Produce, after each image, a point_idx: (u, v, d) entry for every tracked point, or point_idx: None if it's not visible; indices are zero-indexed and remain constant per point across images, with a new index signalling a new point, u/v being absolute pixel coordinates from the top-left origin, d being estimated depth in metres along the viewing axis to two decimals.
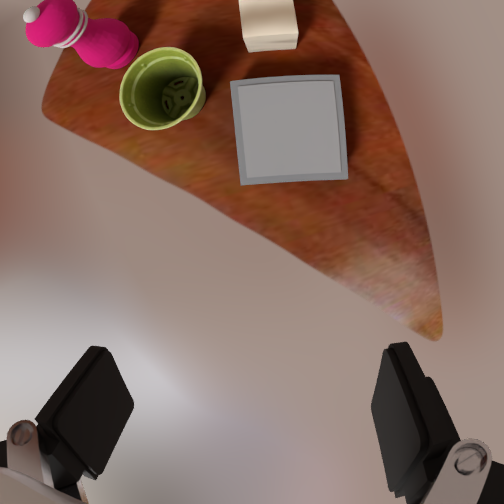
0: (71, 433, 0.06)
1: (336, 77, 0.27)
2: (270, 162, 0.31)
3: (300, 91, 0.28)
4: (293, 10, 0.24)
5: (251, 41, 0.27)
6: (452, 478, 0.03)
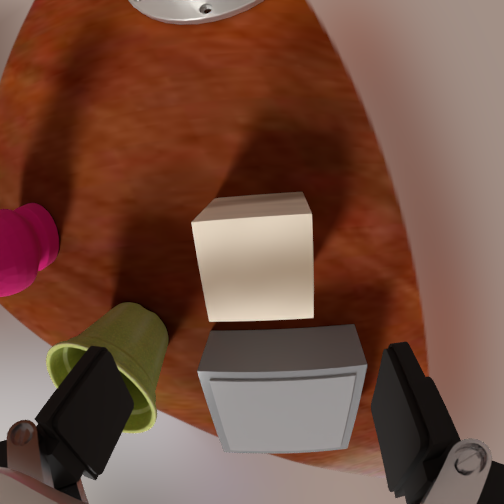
0: (71, 433, 0.06)
1: (361, 368, 0.19)
2: (257, 443, 0.23)
3: (303, 390, 0.20)
4: (310, 266, 0.15)
5: None
6: (452, 478, 0.03)
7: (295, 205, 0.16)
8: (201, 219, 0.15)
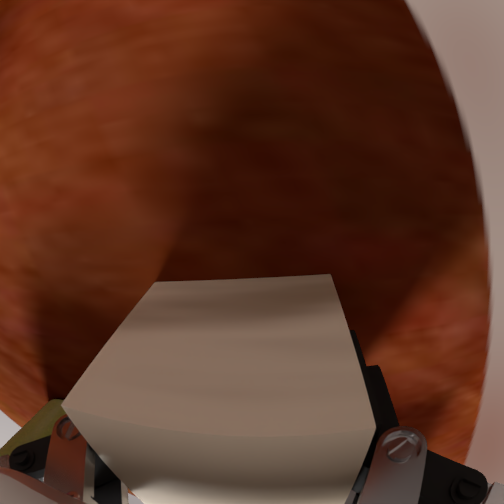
0: None
1: None
2: None
3: None
4: (345, 491, 0.05)
5: None
6: (386, 468, 0.04)
7: (324, 359, 0.06)
8: (84, 396, 0.05)
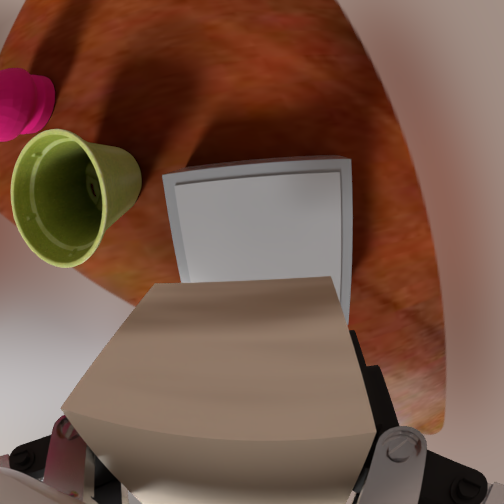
0: None
1: (345, 164, 0.17)
2: None
3: (281, 193, 0.18)
4: (345, 493, 0.05)
5: None
6: (386, 468, 0.04)
7: (324, 363, 0.06)
8: (84, 399, 0.05)
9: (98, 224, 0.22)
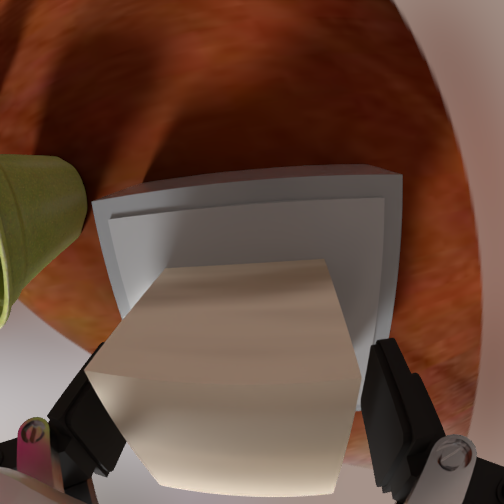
0: (84, 430, 0.06)
1: (393, 183, 0.10)
2: None
3: (282, 234, 0.10)
4: (340, 451, 0.06)
5: None
6: (436, 474, 0.04)
7: (317, 325, 0.07)
8: (106, 361, 0.06)
9: None
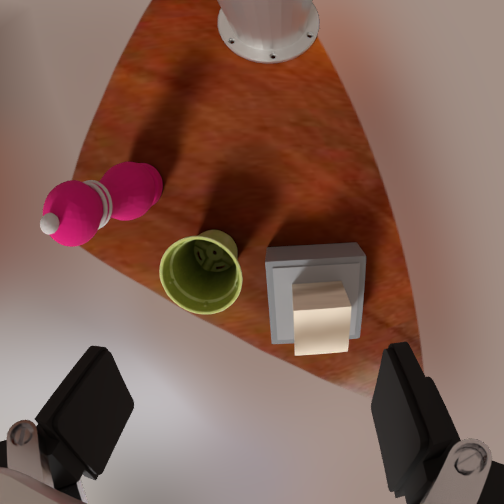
0: (71, 433, 0.06)
1: (363, 258, 0.34)
2: None
3: (329, 273, 0.34)
4: (348, 328, 0.30)
5: None
6: (452, 478, 0.03)
7: (341, 298, 0.31)
8: (297, 308, 0.30)
9: (210, 281, 0.39)
